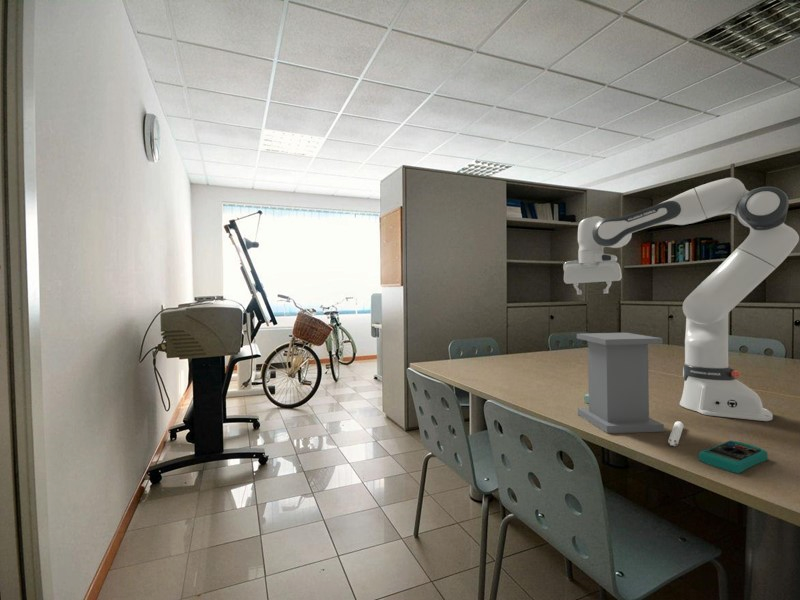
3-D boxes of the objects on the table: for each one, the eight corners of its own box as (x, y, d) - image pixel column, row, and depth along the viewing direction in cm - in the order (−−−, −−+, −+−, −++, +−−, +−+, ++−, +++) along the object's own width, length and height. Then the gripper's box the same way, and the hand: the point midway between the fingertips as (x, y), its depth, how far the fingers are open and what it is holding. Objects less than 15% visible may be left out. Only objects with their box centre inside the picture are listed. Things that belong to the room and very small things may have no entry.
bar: (608, 391, 146) (608, 384, 146) (616, 392, 144) (616, 385, 144) (584, 403, 131) (584, 395, 131) (593, 405, 129) (593, 397, 129)
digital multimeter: (769, 461, 85) (769, 448, 85) (738, 476, 78) (738, 462, 78) (729, 449, 91) (729, 438, 91) (697, 463, 85) (697, 450, 85)
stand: (577, 414, 118) (576, 333, 118) (627, 413, 118) (625, 332, 118) (606, 433, 102) (605, 339, 102) (663, 431, 102) (662, 338, 102)
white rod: (677, 449, 91) (677, 440, 91) (666, 447, 93) (666, 438, 93) (683, 429, 105) (683, 421, 105) (674, 427, 106) (674, 419, 106)
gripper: (560, 260, 149) (562, 295, 149) (619, 255, 136) (620, 292, 136) (565, 261, 154) (566, 295, 154) (621, 256, 141) (623, 292, 141)
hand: (592, 293), depth 145 cm, fingers open, 8 cm apart
